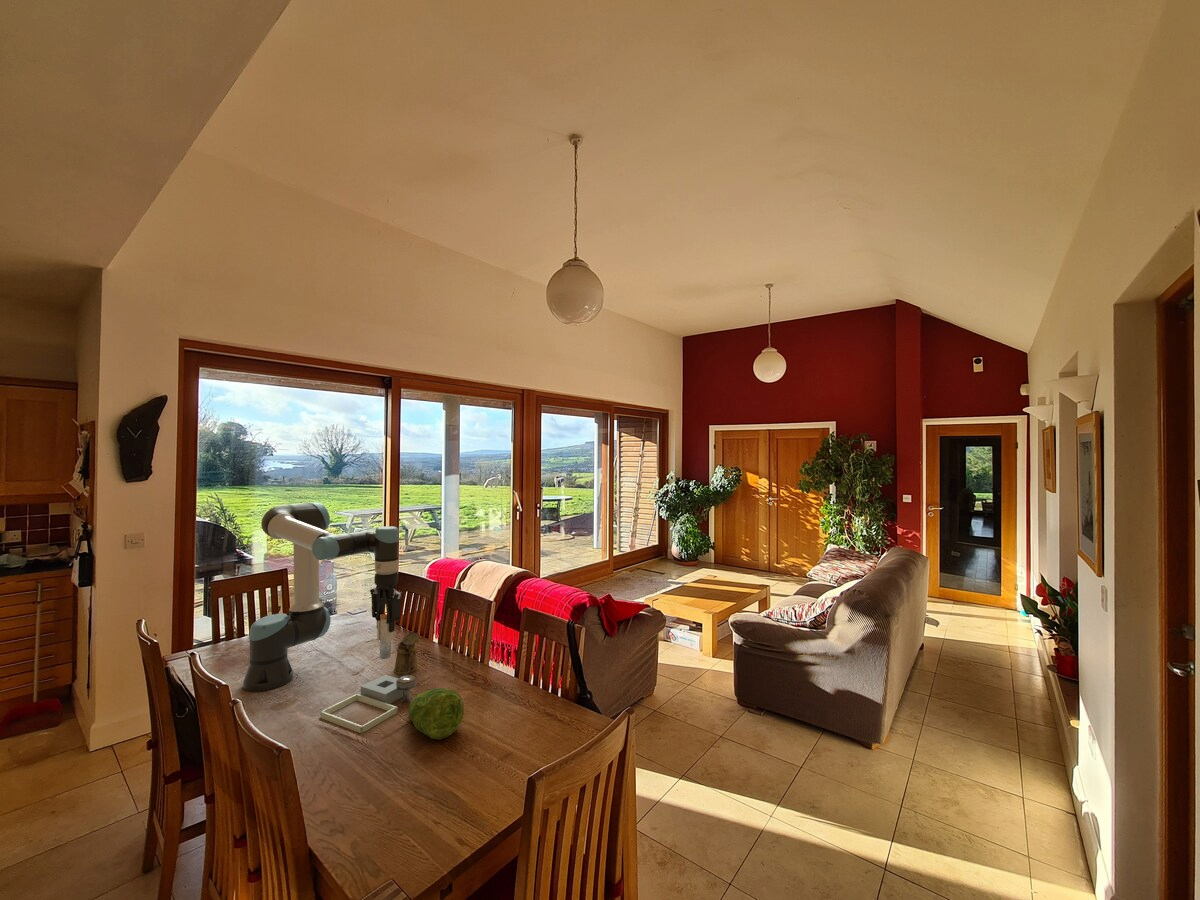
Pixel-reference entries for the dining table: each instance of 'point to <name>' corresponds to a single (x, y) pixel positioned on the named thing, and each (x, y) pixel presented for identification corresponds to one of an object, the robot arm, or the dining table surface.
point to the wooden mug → (407, 655)
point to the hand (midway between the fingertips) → (385, 639)
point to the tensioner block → (382, 689)
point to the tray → (353, 726)
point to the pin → (384, 637)
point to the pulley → (406, 685)
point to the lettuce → (437, 712)
